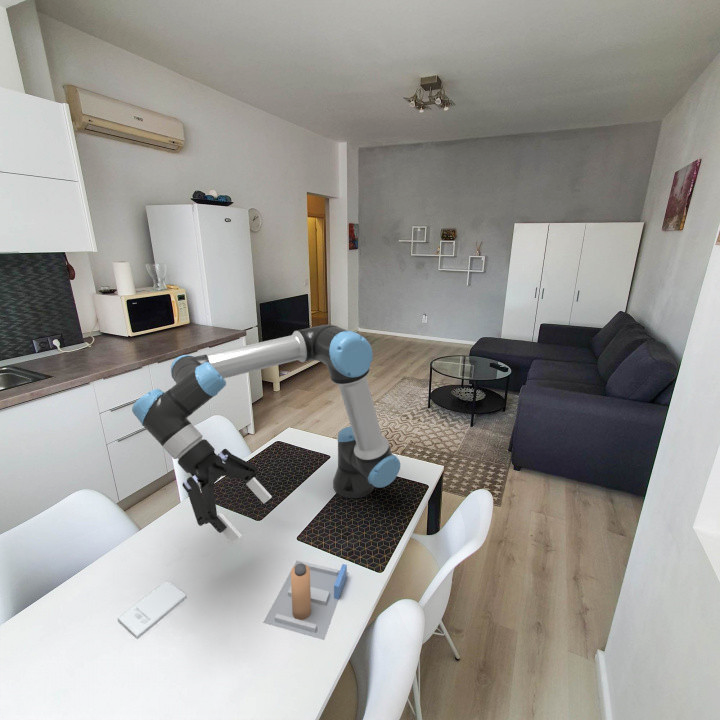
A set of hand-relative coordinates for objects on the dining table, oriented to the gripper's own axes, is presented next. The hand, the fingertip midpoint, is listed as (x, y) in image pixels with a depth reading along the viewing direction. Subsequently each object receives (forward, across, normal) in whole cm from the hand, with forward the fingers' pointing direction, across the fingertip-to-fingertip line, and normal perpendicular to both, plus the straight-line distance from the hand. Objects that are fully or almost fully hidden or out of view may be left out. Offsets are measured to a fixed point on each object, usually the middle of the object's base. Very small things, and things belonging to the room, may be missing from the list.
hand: (253, 518), depth 87 cm
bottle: (+25, 0, -9) cm, 27 cm away
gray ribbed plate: (+26, -5, -10) cm, 28 cm away
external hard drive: (+2, +8, -36) cm, 37 cm away
